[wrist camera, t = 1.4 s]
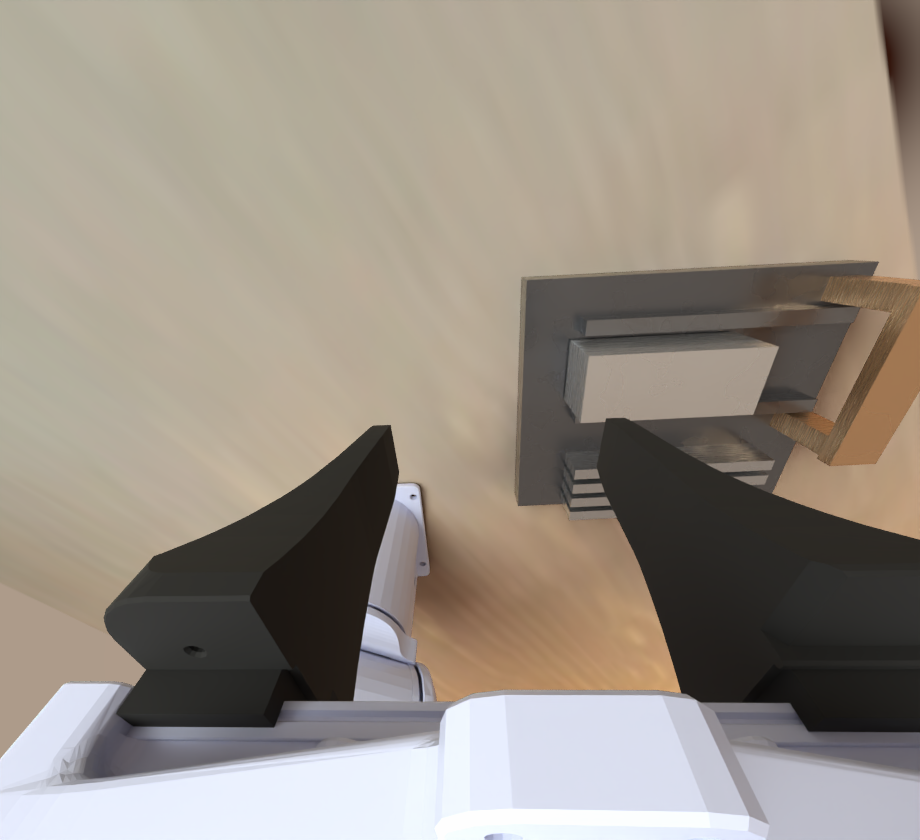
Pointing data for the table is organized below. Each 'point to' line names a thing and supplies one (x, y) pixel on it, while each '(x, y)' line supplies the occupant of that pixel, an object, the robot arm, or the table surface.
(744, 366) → the bar
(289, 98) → the table surface
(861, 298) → the base
